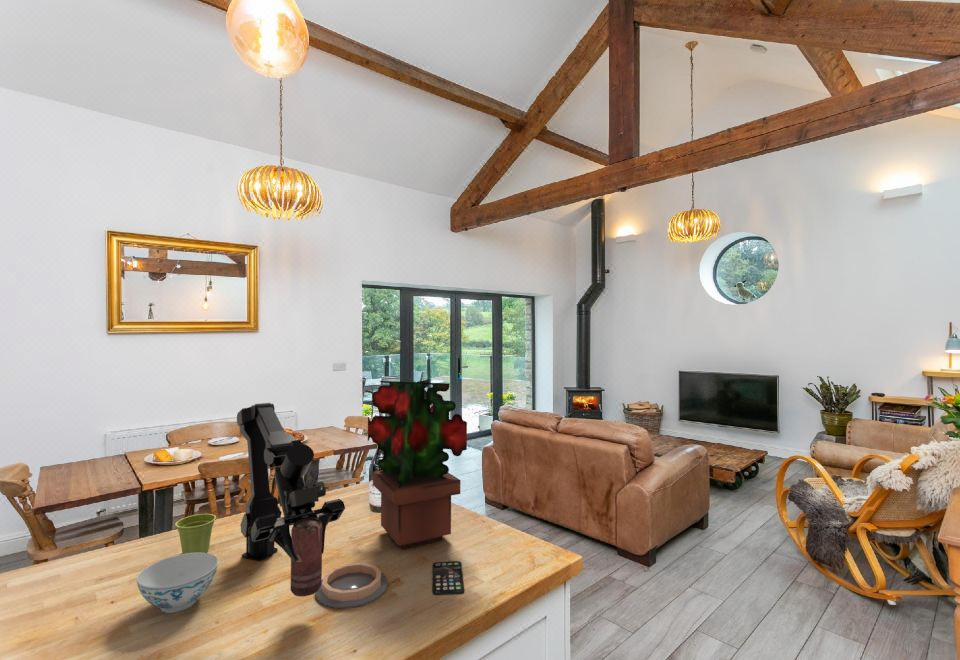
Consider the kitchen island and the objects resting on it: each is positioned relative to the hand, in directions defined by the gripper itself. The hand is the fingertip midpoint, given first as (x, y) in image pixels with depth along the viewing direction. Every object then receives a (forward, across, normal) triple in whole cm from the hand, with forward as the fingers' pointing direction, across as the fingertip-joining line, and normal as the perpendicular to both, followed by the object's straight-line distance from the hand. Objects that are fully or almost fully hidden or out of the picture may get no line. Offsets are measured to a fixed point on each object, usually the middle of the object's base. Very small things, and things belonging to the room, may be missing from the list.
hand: (309, 557), depth 98 cm
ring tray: (+6, +12, +12) cm, 18 cm away
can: (+4, 0, +6) cm, 8 cm away
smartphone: (+13, +32, +6) cm, 35 cm away
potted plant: (-4, +38, +23) cm, 45 cm away
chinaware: (-7, -20, +26) cm, 33 cm away
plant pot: (-25, -13, +44) cm, 52 cm away
